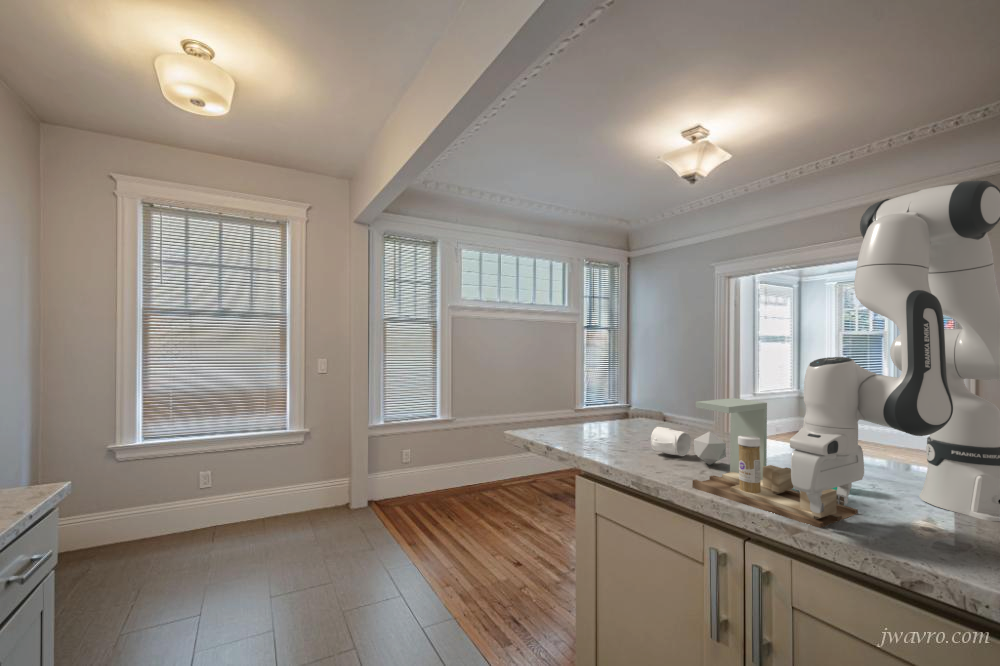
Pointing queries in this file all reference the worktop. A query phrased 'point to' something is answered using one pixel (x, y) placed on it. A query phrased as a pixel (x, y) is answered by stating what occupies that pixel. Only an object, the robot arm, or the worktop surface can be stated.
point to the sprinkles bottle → (749, 463)
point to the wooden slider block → (769, 479)
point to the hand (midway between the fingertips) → (829, 507)
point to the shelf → (742, 425)
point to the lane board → (722, 489)
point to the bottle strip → (791, 505)
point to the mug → (671, 441)
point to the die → (709, 448)
